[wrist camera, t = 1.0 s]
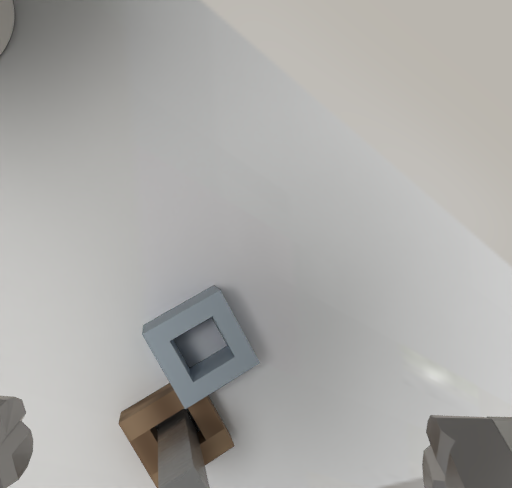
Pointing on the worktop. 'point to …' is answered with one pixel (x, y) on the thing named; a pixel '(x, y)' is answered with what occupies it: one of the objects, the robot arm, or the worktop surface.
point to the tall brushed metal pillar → (180, 454)
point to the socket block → (159, 409)
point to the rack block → (212, 368)
